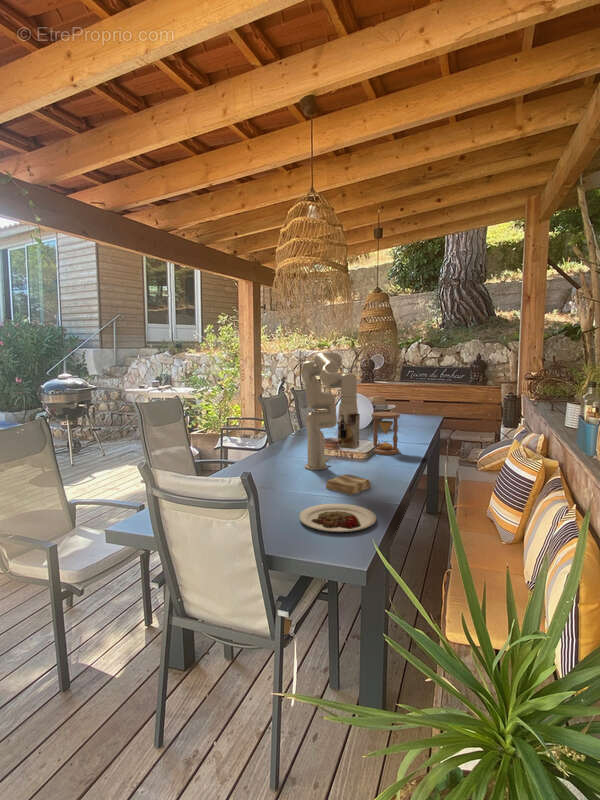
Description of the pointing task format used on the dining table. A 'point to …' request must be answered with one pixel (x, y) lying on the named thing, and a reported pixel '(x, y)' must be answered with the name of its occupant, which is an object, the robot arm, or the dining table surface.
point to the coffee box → (350, 433)
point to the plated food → (337, 517)
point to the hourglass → (385, 425)
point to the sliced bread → (348, 484)
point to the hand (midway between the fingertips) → (348, 436)
